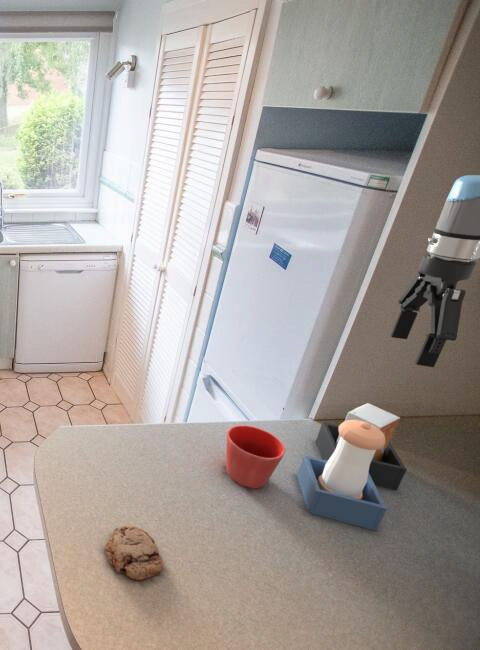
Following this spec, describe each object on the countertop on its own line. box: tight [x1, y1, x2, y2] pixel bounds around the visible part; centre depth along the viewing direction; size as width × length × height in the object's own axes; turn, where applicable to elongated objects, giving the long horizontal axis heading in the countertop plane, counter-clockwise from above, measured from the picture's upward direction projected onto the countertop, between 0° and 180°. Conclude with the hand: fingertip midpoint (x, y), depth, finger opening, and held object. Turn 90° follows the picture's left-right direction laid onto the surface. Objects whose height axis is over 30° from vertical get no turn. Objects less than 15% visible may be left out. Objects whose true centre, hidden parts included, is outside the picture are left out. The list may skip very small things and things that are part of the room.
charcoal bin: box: [315, 421, 407, 491], centre depth 103 cm, size 12×12×6 cm
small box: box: [336, 402, 401, 461], centre depth 101 cm, size 8×6×13 cm
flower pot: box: [225, 424, 286, 489], centre depth 99 cm, size 11×11×10 cm
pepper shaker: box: [317, 420, 385, 500], centre depth 90 cm, size 7×7×19 cm
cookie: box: [104, 525, 164, 581], centre depth 82 cm, size 10×11×3 cm
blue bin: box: [296, 455, 387, 532], centre depth 93 cm, size 11×11×6 cm
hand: (410, 350), depth 98 cm, fingers open, 13 cm apart
